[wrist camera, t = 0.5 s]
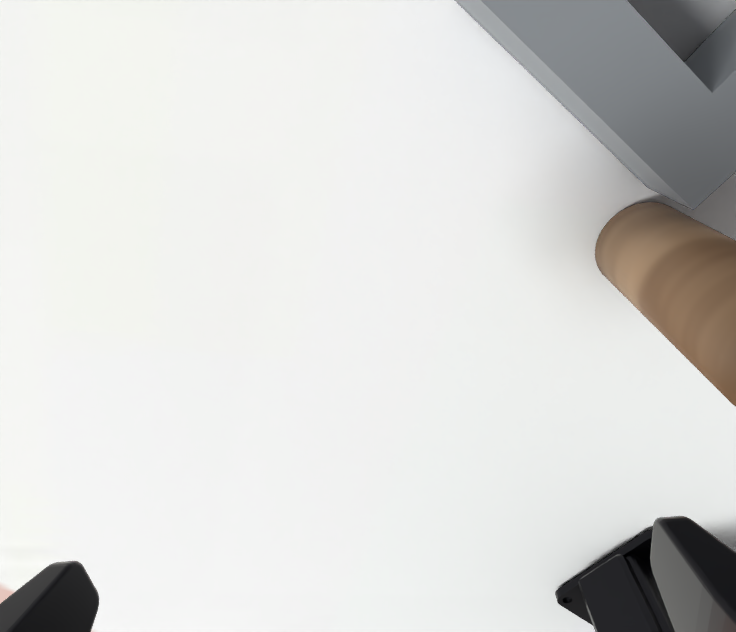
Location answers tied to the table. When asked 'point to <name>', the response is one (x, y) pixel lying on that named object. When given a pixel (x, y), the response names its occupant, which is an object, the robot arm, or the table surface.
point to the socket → (630, 86)
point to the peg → (677, 283)
